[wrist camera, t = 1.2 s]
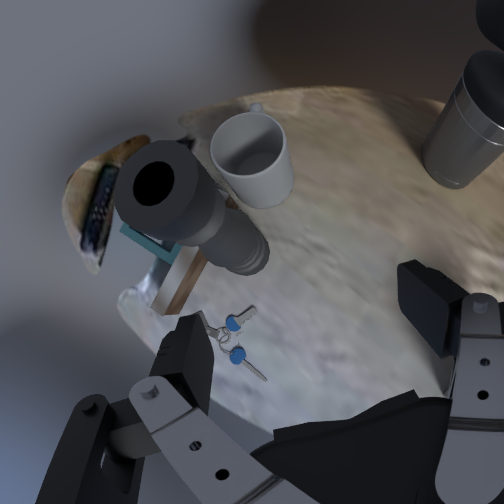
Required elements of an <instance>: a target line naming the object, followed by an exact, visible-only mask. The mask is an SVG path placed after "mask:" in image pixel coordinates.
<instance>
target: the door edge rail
mask: <svg viewBox="0 0 504 504" xmlns="http://www.w3.org/2000/svg"><path fill="white" fill-rule="evenodd" d="M218 190H219V191H220V193H221V194H222V195H223V197H224V199H225V204H226V207H227V208H231V209H235V210H237V208H238V205H237V204H236V203H235V202H234V200H233V199H232V198H231V197H230V194H228V193H226V192H224V191H222V190H220V189H218ZM207 261H208V260H206V259H205V257H204V255H203V254H202V252H201V251H200V249H199V247H198V246H196V247H188V246H182V248H181V250H180V252H179V254H178V255H177V257H176V259H175V261H174V263H173V265H172V267H171V268H170V270H169V272H168V274H167V276H166V278H165V280H164V282H163V284H162V286H161V287H160V289H159V291H158V293H157V295H156V297H155V299H154V301H153V303H152V305H151V307H150V308H152V309H153V310H154V311H156V312H157V313H159V314H160V315H161V316H164V315H175V314H179V313H180V311H181V309H182V307H183V305H184V304H185V302H186V300H187V298H188V296H189V294H190V292H191V291H192V289H193V287H194V285H195V283H196V281H197V279H198V278H199V276H200V274H201V272H202V270H203V269H204V267H205V265H206V263H207Z"/></svg>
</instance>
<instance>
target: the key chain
mask: <svg viewBox="0 0 504 504" xmlns="http://www.w3.org/2000/svg"><path fill="white" fill-rule="evenodd" d="M256 312H257V311H256V308H254V307H252V308H251V309H249V310H248V311H246V312H245V313H244V314H242V315H241V316H239V317H235V316H231V317H229V318H228V319H227V321H226V326H227V327H225V328H219V329H217V330H215V329H213V328H210V327H209V325H208V323H207V321H206V319H205V316H204V314H203V312H202V311H199V312H197V313H195V314H199V315H200V317H201V319H202V321H203V324H204V327H205V329H206V332H207V334H208V335H209V336H211V337H213V338H215V339H216V341H217V342H218V343H220V344H227V343H228V342H229V341H230V339H231V334H230V332H229V330H230V331H234V332H235V331H238V330H239V329H240V328H241V323H242V324H243V323H244V322H245V321H244V320H249V318H248V317H252V316H251V315H253V314H254V315H255V314H256ZM226 328H228V329H229V330H228V329H226ZM220 330H223V334H225V333H224V330H225V331H226V332H227V333H228V334H225V336H227V335H229V336H228V340H227V341H225V342H221V340H222V339H223V338H224V337H225V336H223V337H222V338H221V340H220V341H219V340H218V339H217V338H218V335H219V332H220ZM241 333H242V332H239V333H237V334H236V336H238V335H239V334H241ZM238 343H239V342H238ZM220 344H219V346H220ZM220 349H221V350H222V348H221V346H220ZM222 351H223V350H222ZM234 351H235V352H234ZM234 351H232V353H226V352H224V351H223V352H224V353H226V354H231V355H230V360H231V362H232V363H233V364H240V363H242V364H243V365H244V366H246V367H247V368H248V369H250V371H251V372H253V373H254V374H255V375H257V376H258V377H259V378H260V379H262V380H263V381H265V382H266V381H267V379H266V378H265V377H264V376H263V375H261V373H260V372H259V371H257V370H256V369H254V368H253V366H252V365H250V364H249V363H247V362H246V361H245V360H244V359H245V357H246V353H245V351H244V350H243V349H241V348H239V344H238V348H237V349H235V350H234Z"/></svg>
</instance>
